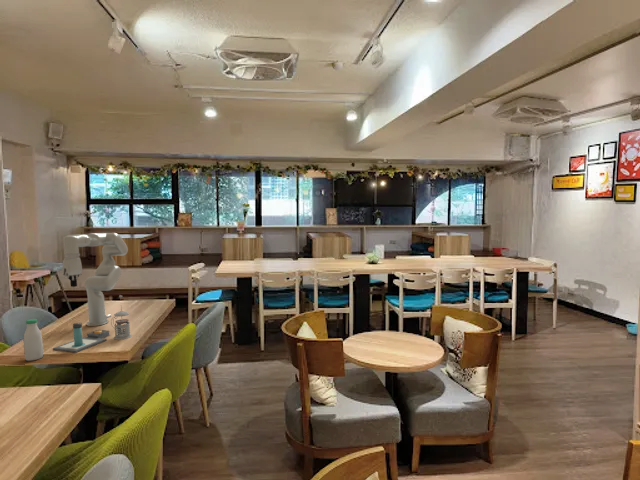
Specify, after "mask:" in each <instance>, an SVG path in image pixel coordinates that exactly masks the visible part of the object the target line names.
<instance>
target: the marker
mask: <svg viewBox="0 0 640 480" xmlns="http://www.w3.org/2000/svg"><path fill="white" fill-rule="evenodd" d="M72 328H73V329H72V330H73V331H72V333H73V341H74V346H81V345H83V338H82V337H83V323H82V322H75V323H73V324H72Z"/></svg>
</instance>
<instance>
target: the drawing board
mask: <svg viewBox="0 0 640 480" xmlns="http://www.w3.org/2000/svg"><path fill="white" fill-rule="evenodd" d="M82 338H83V345H81V346H74V340H71V341H69V342H65V343H63V344H61V345H57V346H56V347H55V346H54V347H53V348H52V350H53V351H60V352H68V353H79V352H81V351H83V350H86V349H89V348H92V347H94V346H97V345H99V344H102V343H104V342H106V341H107V338H93V337H87V336H82Z"/></svg>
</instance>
